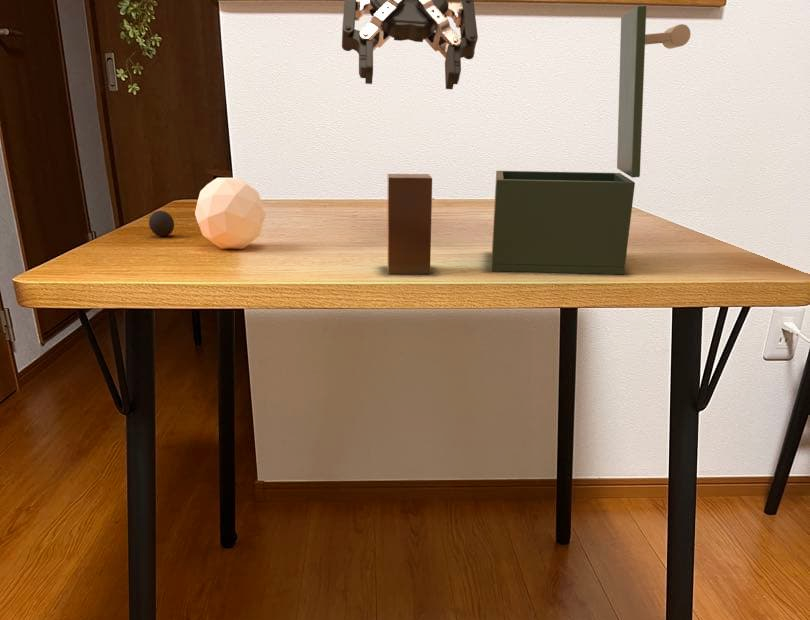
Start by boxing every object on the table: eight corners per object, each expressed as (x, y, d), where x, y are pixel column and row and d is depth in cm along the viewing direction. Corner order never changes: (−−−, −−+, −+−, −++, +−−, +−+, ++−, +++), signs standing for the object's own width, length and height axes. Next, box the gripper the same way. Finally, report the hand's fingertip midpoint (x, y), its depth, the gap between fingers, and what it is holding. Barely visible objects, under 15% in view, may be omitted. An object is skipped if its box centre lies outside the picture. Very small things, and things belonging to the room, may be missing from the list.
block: (427, 266, 92) (429, 174, 88) (430, 274, 88) (432, 177, 84) (387, 266, 92) (387, 173, 87) (388, 274, 88) (388, 177, 84)
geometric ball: (252, 272, 103) (284, 217, 98) (188, 252, 98) (218, 193, 93) (240, 231, 106) (270, 176, 102) (178, 209, 102) (206, 151, 97)
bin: (491, 270, 90) (496, 179, 86) (491, 252, 100) (496, 170, 96) (624, 274, 89) (635, 182, 85) (610, 255, 99) (620, 172, 95)
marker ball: (180, 236, 109) (177, 210, 108) (161, 239, 107) (158, 212, 106) (164, 233, 111) (161, 208, 109) (145, 236, 108) (142, 210, 107)
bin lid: (637, 6, 78) (699, -1, 78) (621, 15, 89) (675, 10, 88) (631, 177, 85) (688, 173, 84) (616, 168, 95) (668, 164, 94)
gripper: (343, -79, 91) (342, 47, 87) (478, -68, 93) (484, 56, 88) (341, -16, 99) (340, 103, 94) (466, -7, 100) (471, 111, 96)
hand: (410, 80), depth 91 cm, fingers open, 8 cm apart
